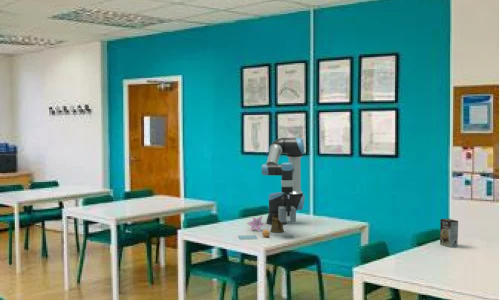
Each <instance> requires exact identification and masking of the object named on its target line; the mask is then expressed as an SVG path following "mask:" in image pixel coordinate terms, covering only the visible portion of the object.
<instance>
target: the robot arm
mask: <svg viewBox="0 0 500 300" xmlns="http://www.w3.org/2000/svg"><path fill="white" fill-rule="evenodd" d="M268 152H269V153H268V157H267V160H266V163H264V164H261V175H262V176H280V177H281V178H280V179H281V180H280V183H281V191H279V192H273V193H270V194H268V215H267V216H266V217H267V218H266V222H265V223H266V224H267V225H271V226H272V218H273V215H278V206H286V209H287V210H286V221H290V211H291V206H294V207H295V208H296V211H302V210H303V208H304V205H305V196H306V195H305V194H304V192H303V191H302V187H301V186H302V183H301V182H302V181H301V177H302V176H301V175H302V174H301V173H302V172H301V163H302V162H301V158H302V157H303V155H304V154H305V153H306V152H305V144H304V139H303V138H302V137H280V138H277V139H275V140H274V141H273V142H272V143H271V144H270V145H269V148H268ZM282 154H283V155H284V154H285V155H286V157H287V158H288V162H282V163H281V164H280V163H279V164H278V162H279V160H280V157H281V155H282ZM287 223H288V222H283V226H284V225H287Z"/></svg>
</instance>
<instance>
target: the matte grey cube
mask: <svg viewBox="0 0 500 300" xmlns="http://www.w3.org/2000/svg"><path fill="white" fill-rule="evenodd" d="M286 210H287V209H286V206H278V220H279V221H280V222H287V223H296V222H297V210H296V208H295V207H294V206H291V211H290V221H286Z"/></svg>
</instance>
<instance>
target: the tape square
mask: <svg viewBox="0 0 500 300" xmlns="http://www.w3.org/2000/svg"><path fill="white" fill-rule="evenodd" d="M237 237H238V239H239V240H258V237H257V235H255V234H254V235H253V234H250V235H245V234H244V235H243V234H242V235H241V234H240V235H238V236H237Z"/></svg>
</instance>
